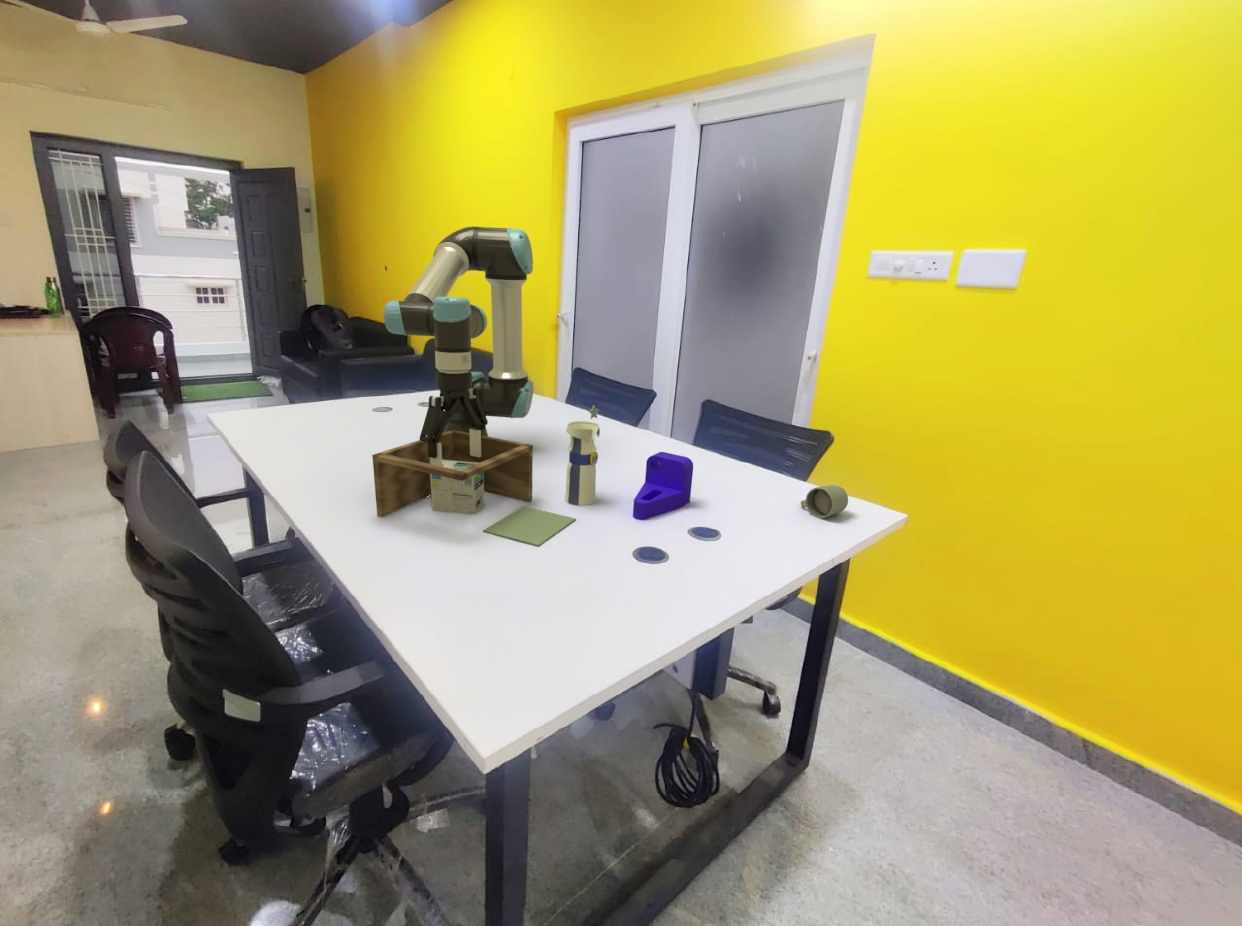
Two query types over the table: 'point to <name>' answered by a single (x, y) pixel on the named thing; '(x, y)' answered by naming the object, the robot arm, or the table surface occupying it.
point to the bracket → (664, 485)
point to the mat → (530, 526)
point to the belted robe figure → (582, 462)
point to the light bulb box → (457, 490)
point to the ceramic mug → (825, 501)
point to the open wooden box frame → (409, 469)
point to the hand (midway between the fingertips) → (456, 463)
